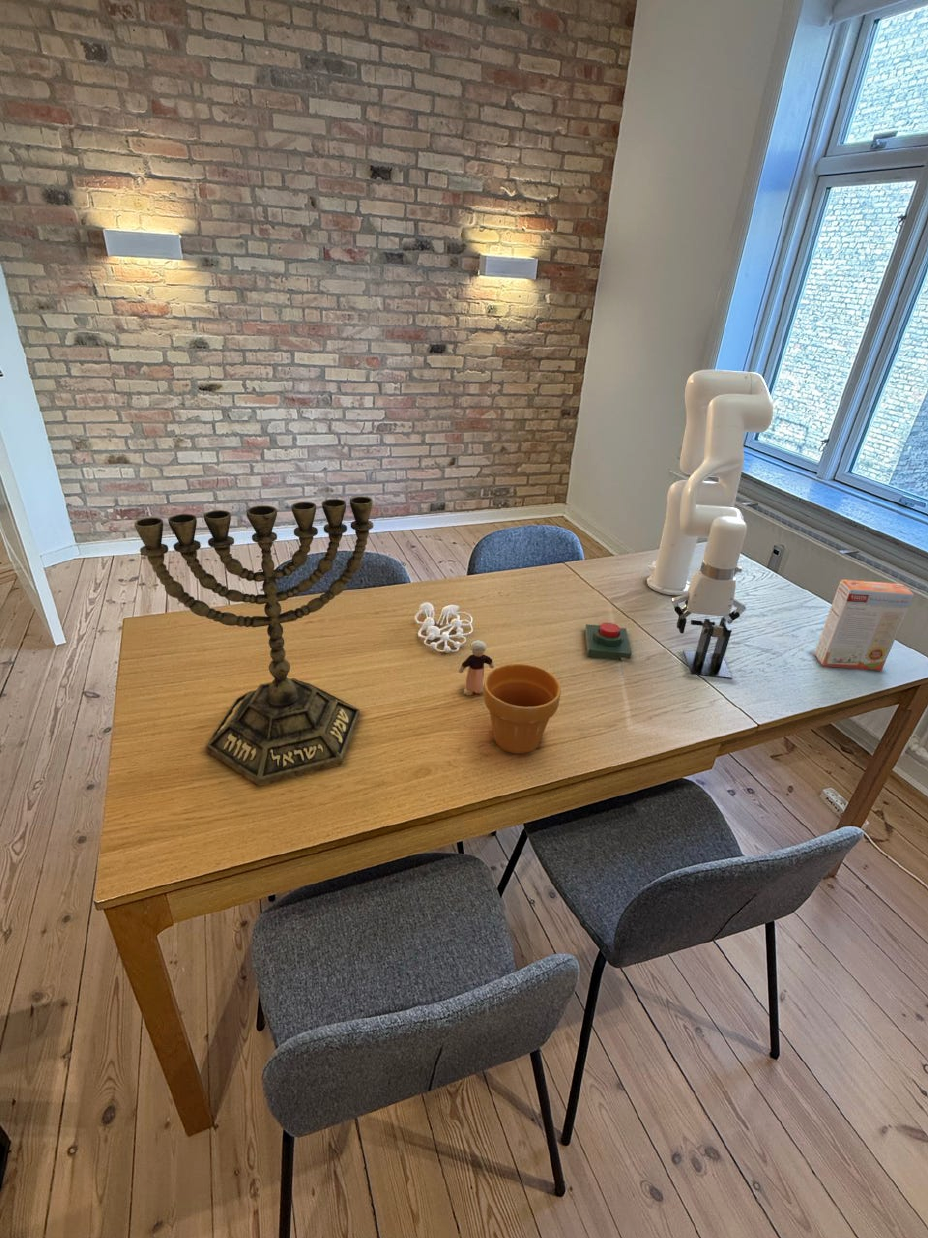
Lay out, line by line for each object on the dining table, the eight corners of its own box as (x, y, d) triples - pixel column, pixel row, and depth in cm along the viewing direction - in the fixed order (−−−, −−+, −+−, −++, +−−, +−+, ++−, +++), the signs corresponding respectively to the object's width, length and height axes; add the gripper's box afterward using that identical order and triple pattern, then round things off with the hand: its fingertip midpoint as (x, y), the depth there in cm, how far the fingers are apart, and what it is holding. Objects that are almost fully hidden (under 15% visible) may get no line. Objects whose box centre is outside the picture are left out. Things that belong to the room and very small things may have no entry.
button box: (584, 631, 162) (587, 618, 160) (624, 635, 162) (627, 621, 160) (587, 657, 152) (589, 642, 150) (629, 661, 151) (632, 647, 149)
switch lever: (689, 626, 157) (691, 616, 157) (712, 628, 157) (714, 619, 156) (704, 636, 144) (706, 626, 144) (729, 638, 144) (731, 628, 144)
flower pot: (468, 724, 128) (472, 670, 121) (530, 709, 133) (537, 657, 127) (499, 771, 117) (505, 715, 110) (566, 753, 122) (575, 698, 115)
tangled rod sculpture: (474, 659, 150) (477, 645, 148) (413, 654, 149) (414, 640, 147) (469, 617, 167) (472, 603, 165) (414, 611, 165) (416, 598, 163)
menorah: (191, 804, 106) (136, 556, 84) (180, 716, 126) (132, 495, 104) (398, 749, 120) (397, 524, 98) (359, 677, 140) (351, 476, 118)
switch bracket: (682, 654, 155) (693, 611, 149) (720, 658, 154) (733, 615, 149) (690, 677, 146) (702, 633, 141) (730, 682, 146) (744, 637, 140)
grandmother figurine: (464, 700, 135) (467, 649, 129) (455, 690, 138) (458, 640, 131) (495, 691, 138) (500, 641, 132) (486, 682, 141) (490, 632, 135)
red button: (598, 627, 157) (599, 621, 156) (617, 629, 157) (618, 623, 156) (600, 637, 153) (601, 631, 152) (619, 639, 153) (620, 633, 152)
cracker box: (870, 658, 158) (903, 582, 147) (881, 672, 152) (917, 594, 142) (812, 653, 158) (840, 577, 148) (821, 666, 153) (851, 589, 143)
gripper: (751, 566, 151) (732, 628, 160) (676, 559, 153) (662, 621, 161) (760, 580, 145) (740, 644, 153) (682, 573, 146) (667, 637, 155)
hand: (700, 632), depth 157 cm, fingers open, 9 cm apart
